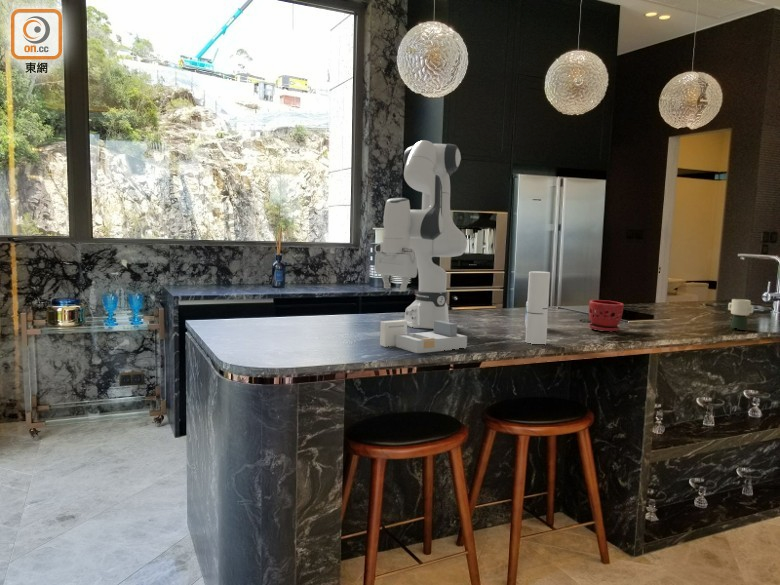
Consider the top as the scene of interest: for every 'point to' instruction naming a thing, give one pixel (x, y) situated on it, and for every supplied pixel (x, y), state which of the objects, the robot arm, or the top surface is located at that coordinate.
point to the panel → (391, 331)
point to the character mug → (740, 312)
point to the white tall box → (537, 307)
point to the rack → (433, 339)
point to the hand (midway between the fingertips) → (394, 289)
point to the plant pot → (605, 314)
